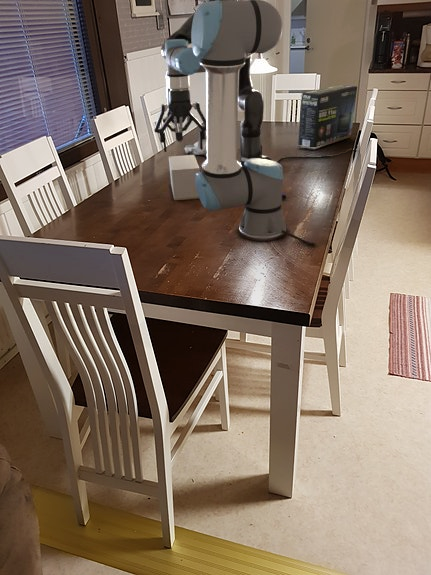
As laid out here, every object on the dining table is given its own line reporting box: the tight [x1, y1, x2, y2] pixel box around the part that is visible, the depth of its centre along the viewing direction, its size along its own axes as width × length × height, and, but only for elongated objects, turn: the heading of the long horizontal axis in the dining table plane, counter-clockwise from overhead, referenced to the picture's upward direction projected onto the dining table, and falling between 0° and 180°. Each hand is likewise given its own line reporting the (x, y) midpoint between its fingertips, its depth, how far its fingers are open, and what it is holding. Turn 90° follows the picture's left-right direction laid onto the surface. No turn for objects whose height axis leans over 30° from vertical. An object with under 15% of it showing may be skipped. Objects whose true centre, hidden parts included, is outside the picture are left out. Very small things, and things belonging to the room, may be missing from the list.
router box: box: [297, 84, 358, 151], centre depth 238 cm, size 36×11×27 cm, turn 134°
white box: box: [168, 154, 201, 201], centre depth 184 cm, size 20×10×12 cm, turn 8°
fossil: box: [184, 137, 207, 157], centre depth 236 cm, size 18×11×15 cm
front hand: (183, 150), depth 173 cm, fingers open, 13 cm apart
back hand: (179, 141), depth 191 cm, fingers closed
